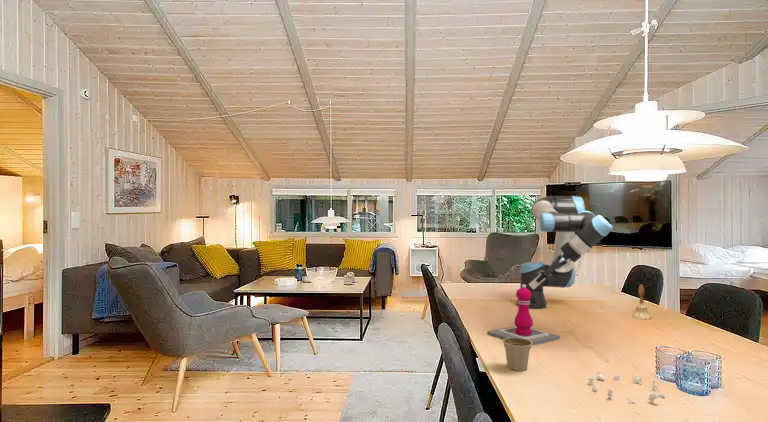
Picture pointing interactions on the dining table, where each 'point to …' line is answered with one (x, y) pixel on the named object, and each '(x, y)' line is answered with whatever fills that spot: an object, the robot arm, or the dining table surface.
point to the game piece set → (616, 377)
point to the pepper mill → (523, 312)
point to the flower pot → (517, 353)
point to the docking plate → (535, 337)
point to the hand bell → (641, 306)
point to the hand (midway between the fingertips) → (534, 284)
